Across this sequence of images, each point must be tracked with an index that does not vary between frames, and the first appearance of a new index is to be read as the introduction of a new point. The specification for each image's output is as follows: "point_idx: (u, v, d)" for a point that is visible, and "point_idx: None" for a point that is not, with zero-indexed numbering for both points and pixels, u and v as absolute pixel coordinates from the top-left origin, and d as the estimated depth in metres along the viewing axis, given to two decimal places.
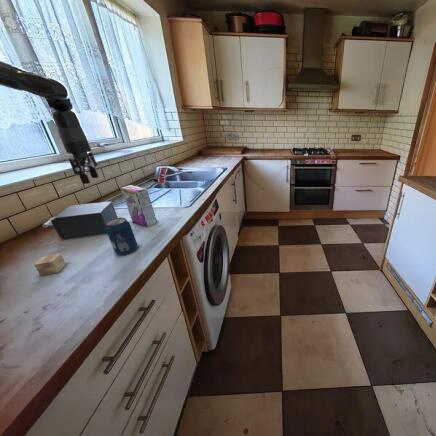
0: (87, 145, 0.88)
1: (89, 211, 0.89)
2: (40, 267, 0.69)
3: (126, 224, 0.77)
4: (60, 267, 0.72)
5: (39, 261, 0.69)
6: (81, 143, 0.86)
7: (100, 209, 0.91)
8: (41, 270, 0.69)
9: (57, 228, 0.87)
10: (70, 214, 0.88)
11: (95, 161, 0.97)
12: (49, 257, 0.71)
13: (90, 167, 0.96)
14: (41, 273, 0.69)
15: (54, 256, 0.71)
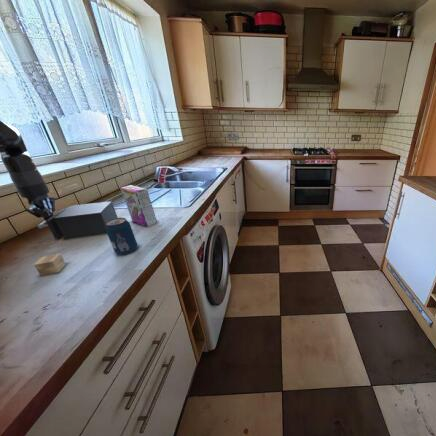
0: (43, 188, 0.84)
1: (89, 211, 0.89)
2: (40, 267, 0.69)
3: (126, 224, 0.77)
4: (60, 267, 0.72)
5: (39, 261, 0.69)
6: (36, 187, 0.82)
7: (100, 209, 0.91)
8: (41, 270, 0.69)
9: (52, 229, 0.86)
10: (70, 214, 0.88)
11: (54, 207, 0.91)
12: (49, 257, 0.71)
13: None
14: (41, 273, 0.69)
15: (54, 256, 0.71)
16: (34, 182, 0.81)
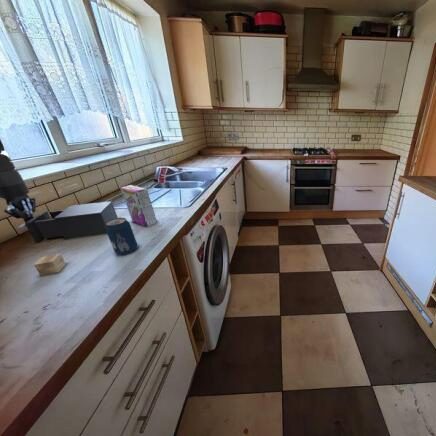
0: (23, 188, 0.82)
1: (89, 211, 0.89)
2: (40, 267, 0.69)
3: (126, 224, 0.77)
4: (60, 267, 0.72)
5: (39, 261, 0.69)
6: (14, 187, 0.80)
7: (100, 209, 0.91)
8: (41, 270, 0.69)
9: (32, 231, 0.85)
10: (70, 214, 0.88)
11: (35, 207, 0.90)
12: (49, 257, 0.71)
13: None
14: (41, 273, 0.69)
15: (54, 256, 0.71)
16: (12, 182, 0.80)
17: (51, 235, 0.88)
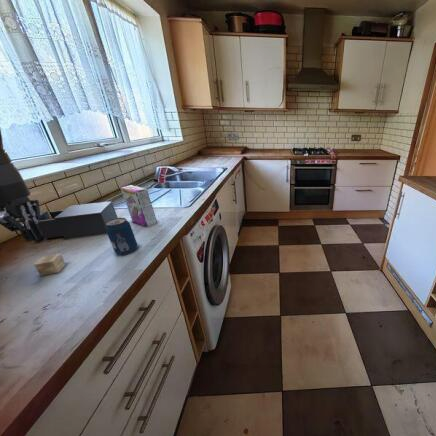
0: (22, 189, 0.61)
1: (89, 211, 0.89)
2: (40, 267, 0.69)
3: (126, 224, 0.77)
4: (60, 267, 0.72)
5: (39, 261, 0.69)
6: (10, 188, 0.59)
7: (100, 209, 0.91)
8: (41, 270, 0.69)
9: None
10: (70, 214, 0.88)
11: (39, 213, 0.68)
12: (49, 257, 0.71)
13: (28, 222, 0.66)
14: (41, 273, 0.69)
15: (54, 256, 0.71)
16: (7, 181, 0.58)
17: (51, 235, 0.88)
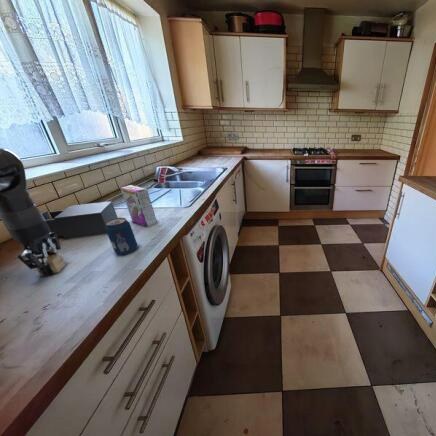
0: (43, 228, 0.66)
1: (89, 211, 0.89)
2: None
3: (126, 224, 0.77)
4: (60, 267, 0.72)
5: None
6: (34, 228, 0.64)
7: (100, 209, 0.91)
8: None
9: None
10: (70, 214, 0.88)
11: (58, 243, 0.74)
12: (49, 257, 0.71)
13: (50, 253, 0.72)
14: (41, 273, 0.69)
15: (54, 256, 0.71)
16: (31, 223, 0.63)
17: None
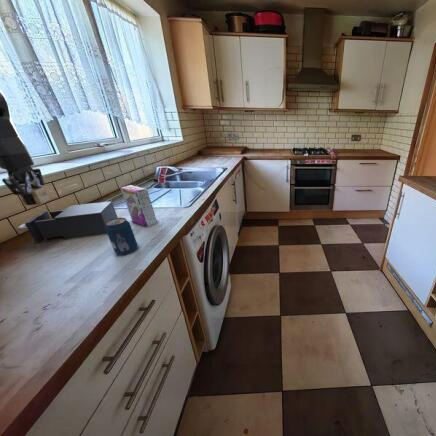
0: (27, 158, 0.73)
1: (89, 211, 0.89)
2: None
3: (126, 224, 0.77)
4: (43, 199, 0.79)
5: None
6: (17, 157, 0.71)
7: (100, 209, 0.91)
8: None
9: (32, 231, 0.85)
10: (70, 214, 0.88)
11: (42, 180, 0.82)
12: (33, 189, 0.78)
13: (34, 187, 0.79)
14: (25, 203, 0.77)
15: (37, 189, 0.79)
16: (15, 151, 0.70)
17: (51, 235, 0.88)
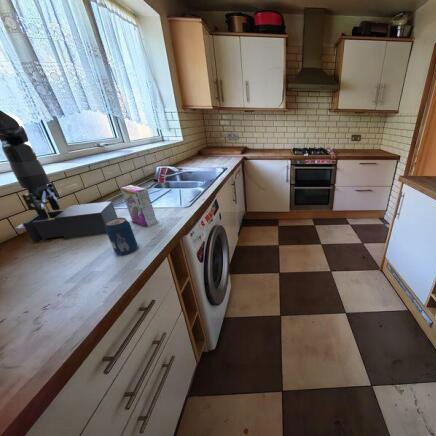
0: (44, 178, 0.83)
1: (89, 211, 0.89)
2: None
3: (126, 224, 0.77)
4: None
5: None
6: (37, 177, 0.81)
7: (100, 209, 0.91)
8: None
9: (30, 232, 0.85)
10: (70, 214, 0.88)
11: (56, 192, 0.92)
12: None
13: (50, 199, 0.90)
14: None
15: None
16: (35, 172, 0.80)
17: (49, 235, 0.88)
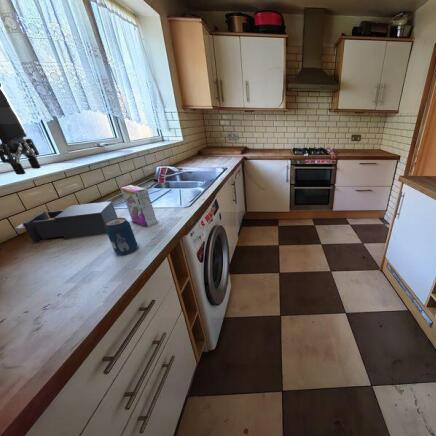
0: (20, 129, 0.76)
1: (89, 211, 0.89)
2: None
3: (126, 224, 0.77)
4: None
5: None
6: (11, 127, 0.74)
7: (100, 209, 0.91)
8: None
9: (30, 232, 0.85)
10: (70, 214, 0.88)
11: (36, 149, 0.85)
12: None
13: (29, 156, 0.83)
14: None
15: None
16: (8, 121, 0.73)
17: (49, 235, 0.88)
